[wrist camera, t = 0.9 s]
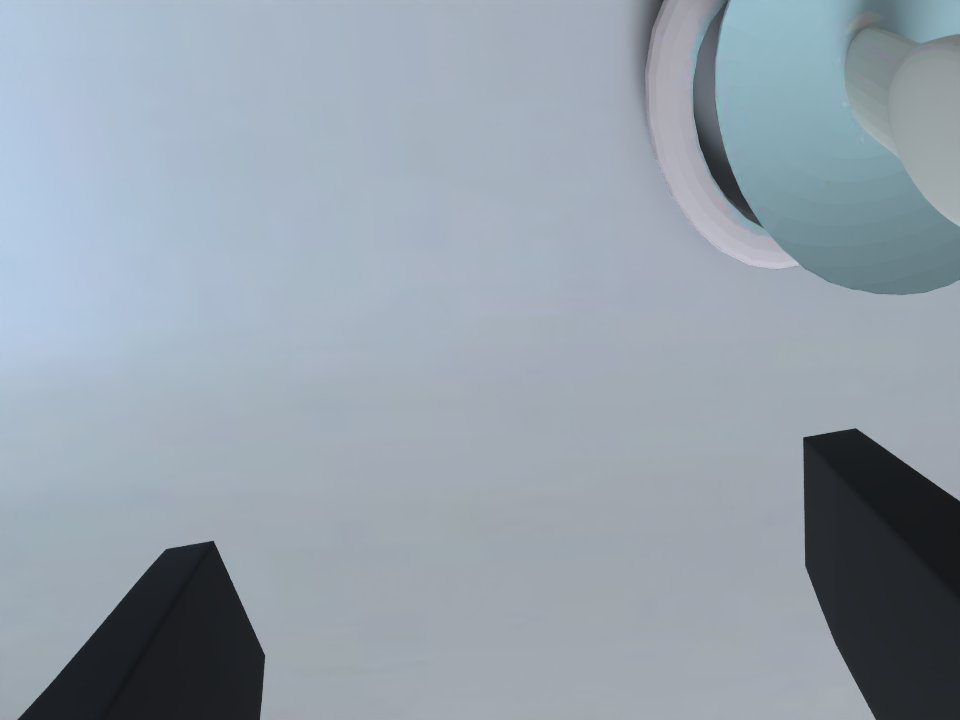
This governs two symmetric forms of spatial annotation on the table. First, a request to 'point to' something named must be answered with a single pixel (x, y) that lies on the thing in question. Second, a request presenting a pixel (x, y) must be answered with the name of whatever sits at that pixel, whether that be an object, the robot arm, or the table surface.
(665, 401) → the table surface
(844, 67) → the pacifier
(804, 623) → the table surface
